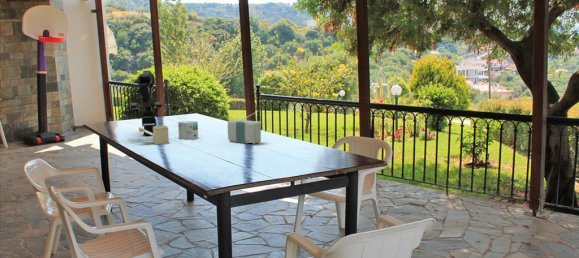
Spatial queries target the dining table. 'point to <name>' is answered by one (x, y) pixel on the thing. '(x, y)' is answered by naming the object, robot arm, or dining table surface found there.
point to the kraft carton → (160, 135)
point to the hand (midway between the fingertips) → (146, 119)
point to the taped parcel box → (244, 131)
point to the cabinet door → (145, 131)
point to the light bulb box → (188, 130)
